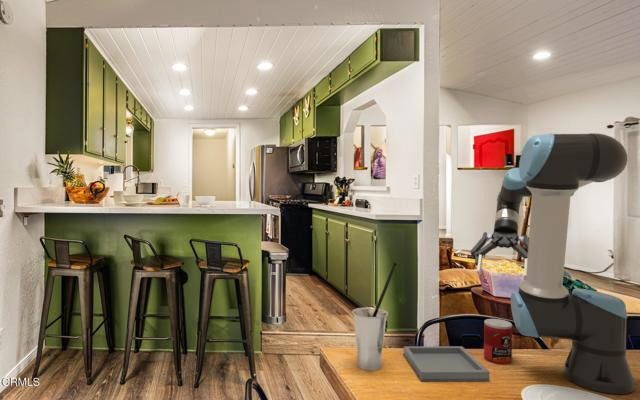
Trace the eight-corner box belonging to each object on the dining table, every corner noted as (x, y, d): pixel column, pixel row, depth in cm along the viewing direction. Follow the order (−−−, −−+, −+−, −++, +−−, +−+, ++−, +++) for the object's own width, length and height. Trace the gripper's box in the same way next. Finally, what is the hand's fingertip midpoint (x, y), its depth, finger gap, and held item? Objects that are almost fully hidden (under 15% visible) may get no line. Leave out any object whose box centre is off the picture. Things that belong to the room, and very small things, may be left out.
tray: (461, 354, 122) (461, 346, 122) (489, 381, 104) (489, 371, 104) (403, 354, 121) (403, 346, 121) (421, 381, 103) (421, 372, 103)
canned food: (493, 365, 114) (494, 327, 114) (478, 354, 122) (478, 318, 122) (517, 364, 115) (518, 326, 115) (501, 353, 123) (501, 318, 123)
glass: (395, 375, 107) (397, 263, 107) (353, 375, 107) (354, 263, 107) (388, 359, 118) (389, 257, 118) (350, 358, 117) (351, 257, 117)
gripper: (546, 234, 136) (546, 287, 123) (469, 229, 148) (461, 277, 136) (547, 219, 131) (546, 273, 119) (467, 216, 143) (459, 264, 131)
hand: (501, 275), depth 127 cm, fingers open, 13 cm apart
